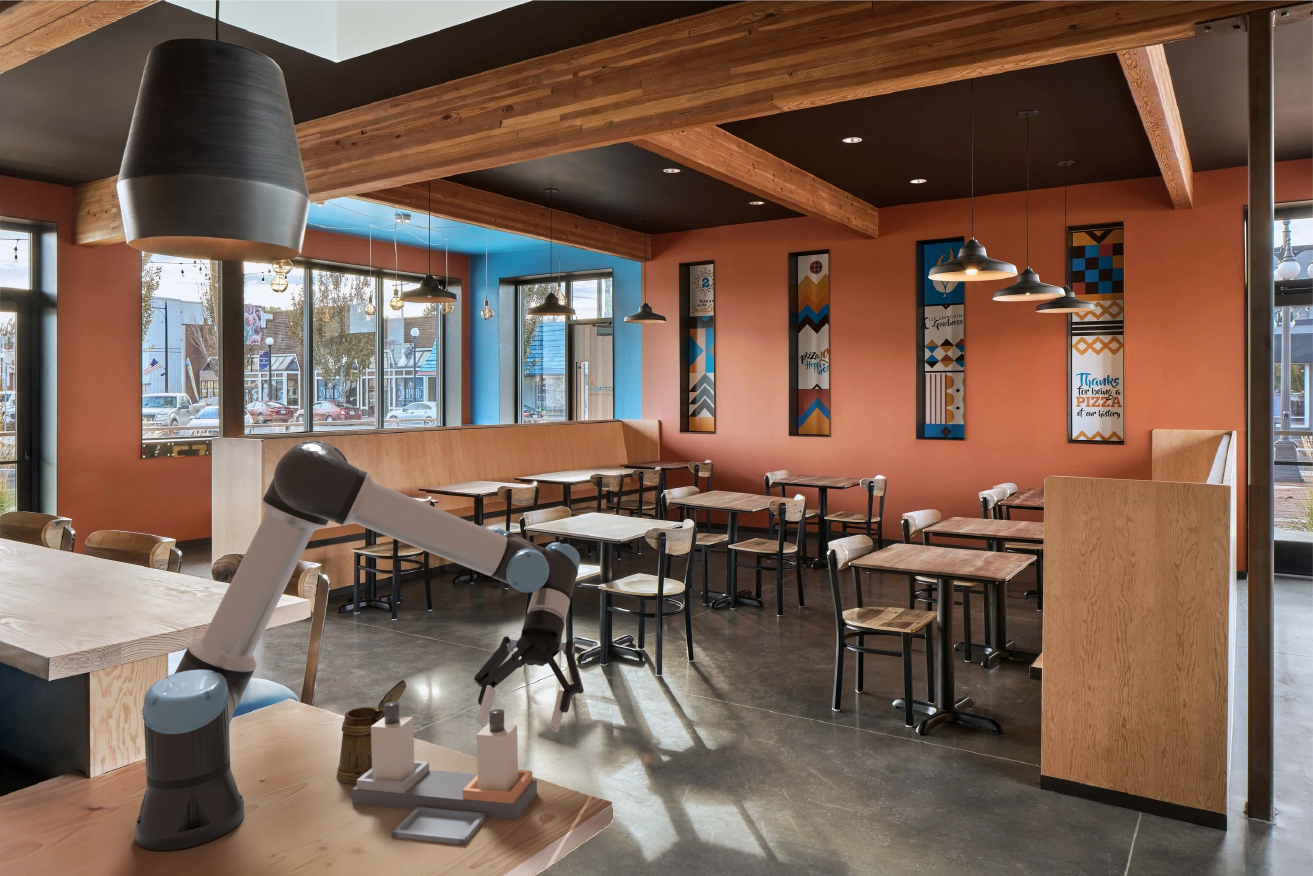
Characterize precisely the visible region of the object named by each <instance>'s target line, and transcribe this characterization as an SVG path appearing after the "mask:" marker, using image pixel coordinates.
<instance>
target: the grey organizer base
mask: <svg viewBox="0 0 1313 876" xmlns="http://www.w3.org/2000/svg"><path fill="white" fill-rule="evenodd" d="M414 770H415V771H414V772H413V773H411V774H410V775H409V776H408V777H407V778H406V779H405V780H404V781H402V782H398V781H387V780H376V779H372V768H371V769H370V770H369V771H367V772H366V773H365V774H364V775H362V776H361V777H360V778H359V779H357V784H356V785H355V787H353V788H352V791H351V792H352V804H356V805H362V806H363V805H364V806H374V807H385V808H393V809H403V810H404V809H405V810H412V811H413V810H414V809H415V808H416V807H427V808H437V809H447V810H457V811H467V812H477V813H486V818H493V819H502V820H503V819H505V820H515V821H518V820H519V818H520V816H521V815H522V814H523V813H524V811H525V810H526V809H527V808H528V806H529V805H530V804H531V803H532V801H533V799H534V798H535V797H536V796H537V794H538V782H537V781H538V780H537V779H536V778H533V770H525V769H518V783H517V784H516V785H515V787H514V788H513V789H512V790H511V791H510V792H506V791H495V790H484V789H478V775H477V773H467V772H456V771H448V770H447V771H446V770H437V769H434V770H433V769H430V761H420V760H414Z"/></svg>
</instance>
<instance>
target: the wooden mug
mask: <svg viewBox="0 0 1313 876" xmlns="http://www.w3.org/2000/svg"><path fill="white" fill-rule="evenodd" d="M406 688H407V684H406V681H405V680H404V679H402V680H400V681H399V682H397V683H396V684H395V685H394V686H393V687H392V688H391V689H390V690H389V691H387V693H386V694H385V695H384V697H383V698H382V699H381V700H380V702H379V704H378V707H373V706H361V707H357V708H352V709H350V710H348V711H346V712H345V714H344V720H343V721H342V726H341V731H342V738H341V748H340V755H339V763H338V766H337V772H336V778H337V781H339V782H340V783H343V784H350V785H351V784H352V785H357V779H359V778H360V777H361V776H362V775H364V774H365V773H366V772H367V771H369V770H370V769H371V768H372V747H371V726H372V725H374V724H375V723H376V722H378V721H379V720H381V719H382V718H383V717H385V712H384V705H385V704H386V703H389V702H398V701H399V699H400V698H401V697H402V695H403V693H404V692H405V690H406Z"/></svg>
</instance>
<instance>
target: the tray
mask: <svg viewBox="0 0 1313 876" xmlns="http://www.w3.org/2000/svg"><path fill="white" fill-rule="evenodd" d="M486 820H487V817H486V813H477V812H467V811H457V810H447V809H437V808H427V807H416V808H415V809H414V810H412V811H411V812H410V813H409V814H408V815H407V816H406V817H405V818H404V819H403V820H402V821H401V822H400V823H399V824H398V825H397V826H396V827H395V828H394V829H393V830H392V831H391V838H397V839H407V840H416V841H425V842H434V843H443V844H445V843H446V844H452V845H462V846H465V845H466V844H467V843H468V842H469V841H470V840H471V838H472V836H474V834H475V833H476V832H477V830H478V829H480V827H481V826H482V824H483V823H485V821H486Z"/></svg>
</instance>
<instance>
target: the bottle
mask: <svg viewBox="0 0 1313 876" xmlns="http://www.w3.org/2000/svg"><path fill="white" fill-rule="evenodd" d="M488 721H489V722H487V723H486V726H485V727H483V728H481V730H479V732H478V733H477V734H476V765H477V766H476V767H477V768H476V769H477V770H476V771H477V773H476V774H477V775H478V789H484V790H495V791H506V792H510V791H511V790H512V789H513V788H514V787H515V785H516V784H517V783H518V770H519V759H518V755H519V754H518V753H519V751H518V749H519V748H518V747H519V746H518V725H517V724H510V723H509V724H508V723H505V710H504V709H503V708H495V709H491V710H490V712H489V716H488Z"/></svg>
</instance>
